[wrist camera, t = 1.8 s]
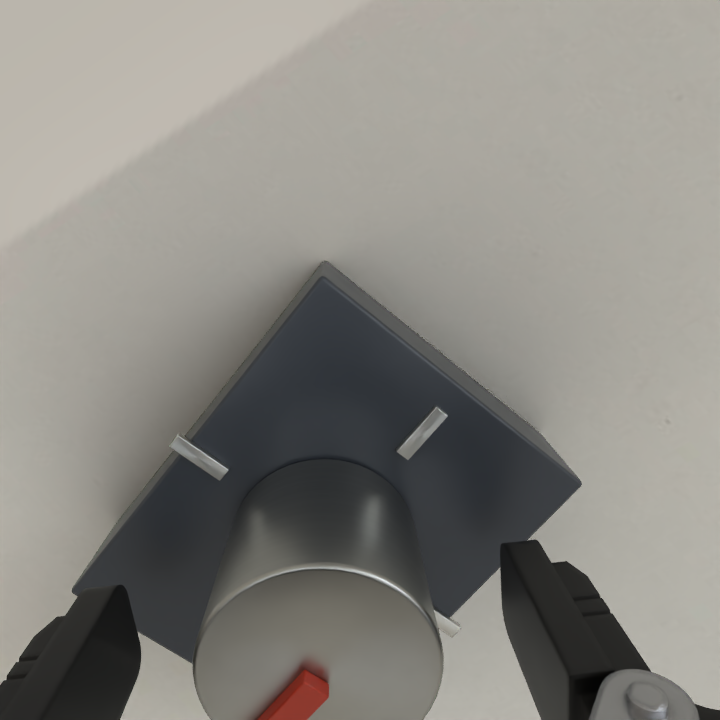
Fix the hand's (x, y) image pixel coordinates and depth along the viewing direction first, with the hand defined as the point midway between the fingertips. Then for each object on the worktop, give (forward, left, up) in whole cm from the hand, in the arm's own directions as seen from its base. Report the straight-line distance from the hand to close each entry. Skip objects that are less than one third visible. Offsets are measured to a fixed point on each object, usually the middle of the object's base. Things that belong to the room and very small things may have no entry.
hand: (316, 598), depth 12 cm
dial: (0, 0, -2) cm, 2 cm away
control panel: (0, 0, -5) cm, 5 cm away
